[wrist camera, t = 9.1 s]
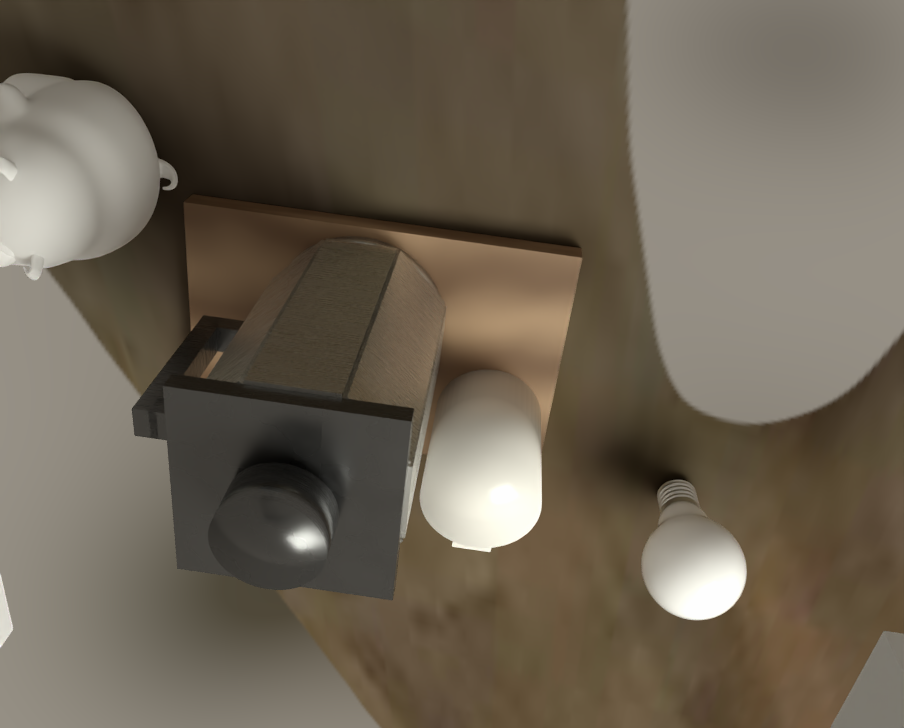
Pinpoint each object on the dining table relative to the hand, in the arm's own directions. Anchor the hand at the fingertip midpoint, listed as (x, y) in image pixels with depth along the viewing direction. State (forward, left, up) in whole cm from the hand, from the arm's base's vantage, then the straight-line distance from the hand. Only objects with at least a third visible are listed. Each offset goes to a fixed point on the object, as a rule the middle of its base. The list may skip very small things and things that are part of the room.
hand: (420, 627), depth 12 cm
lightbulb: (+26, +16, -39) cm, 49 cm away
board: (+17, -6, -39) cm, 43 cm away
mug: (+21, +2, -37) cm, 43 cm away
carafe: (+15, -9, -37) cm, 41 cm away
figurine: (+7, -23, -39) cm, 46 cm away
